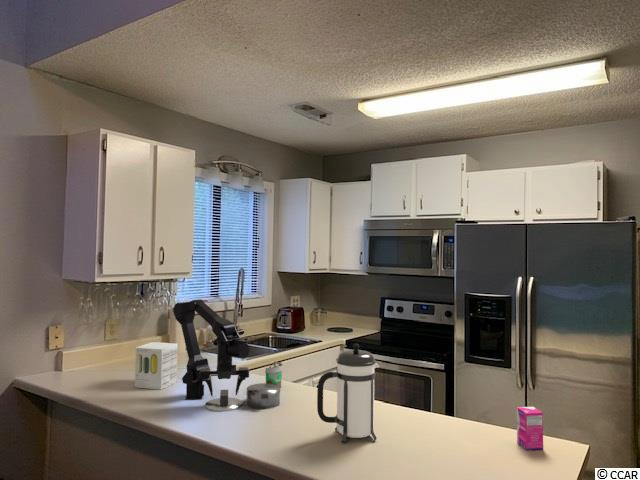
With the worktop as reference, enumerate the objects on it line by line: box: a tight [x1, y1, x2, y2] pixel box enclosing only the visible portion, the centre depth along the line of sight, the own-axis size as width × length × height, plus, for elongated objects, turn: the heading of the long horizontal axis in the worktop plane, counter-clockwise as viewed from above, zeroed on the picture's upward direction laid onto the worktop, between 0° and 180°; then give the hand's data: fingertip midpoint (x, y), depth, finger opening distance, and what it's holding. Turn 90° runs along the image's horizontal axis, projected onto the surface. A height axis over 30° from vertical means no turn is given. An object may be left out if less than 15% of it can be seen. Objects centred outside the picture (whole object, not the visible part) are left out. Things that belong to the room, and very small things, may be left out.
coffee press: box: [316, 343, 380, 444], centre depth 153 cm, size 17×16×30 cm
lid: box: [205, 389, 243, 412], centre depth 183 cm, size 14×14×5 cm
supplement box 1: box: [134, 341, 179, 391], centre depth 210 cm, size 13×13×18 cm
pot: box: [245, 382, 281, 410], centre depth 185 cm, size 13×16×6 cm
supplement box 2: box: [516, 406, 544, 451], centre depth 147 cm, size 6×6×12 cm
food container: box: [265, 361, 284, 389], centre depth 206 cm, size 12×6×10 cm, turn 168°
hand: (224, 395), depth 183 cm, fingers open, 9 cm apart
